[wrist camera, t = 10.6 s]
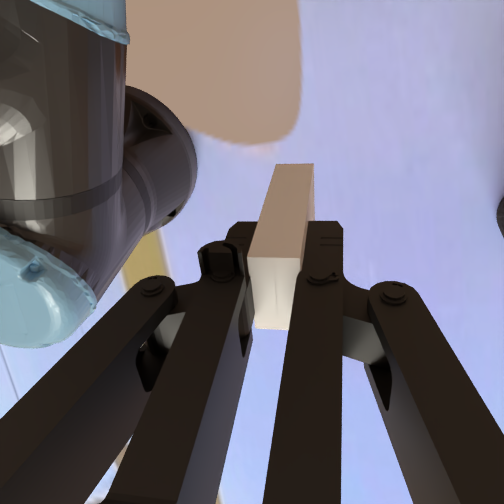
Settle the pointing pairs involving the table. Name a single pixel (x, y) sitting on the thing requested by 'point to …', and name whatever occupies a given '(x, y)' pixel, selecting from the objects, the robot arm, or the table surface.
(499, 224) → the travel mug
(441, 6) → the table surface
